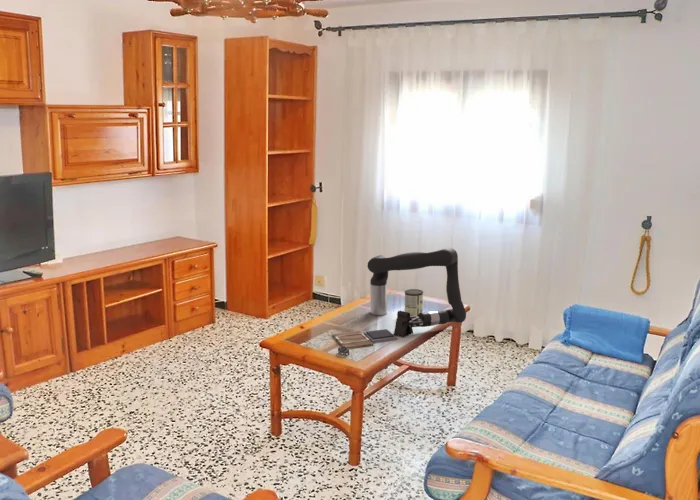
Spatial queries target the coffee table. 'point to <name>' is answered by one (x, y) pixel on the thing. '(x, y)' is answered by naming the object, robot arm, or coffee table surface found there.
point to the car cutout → (343, 350)
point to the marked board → (352, 339)
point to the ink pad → (380, 335)
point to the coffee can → (414, 301)
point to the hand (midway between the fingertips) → (399, 322)
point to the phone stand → (402, 330)
